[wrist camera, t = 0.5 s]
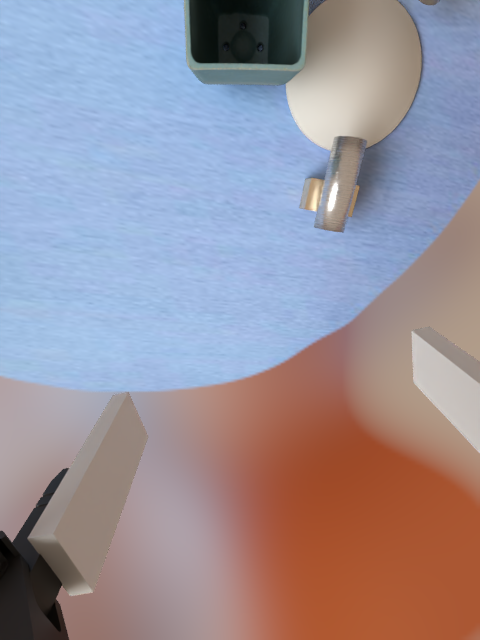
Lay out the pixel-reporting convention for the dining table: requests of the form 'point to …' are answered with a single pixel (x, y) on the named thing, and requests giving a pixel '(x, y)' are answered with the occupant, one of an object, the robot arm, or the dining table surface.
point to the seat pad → (356, 71)
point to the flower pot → (246, 40)
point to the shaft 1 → (336, 185)
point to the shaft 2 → (429, 2)
